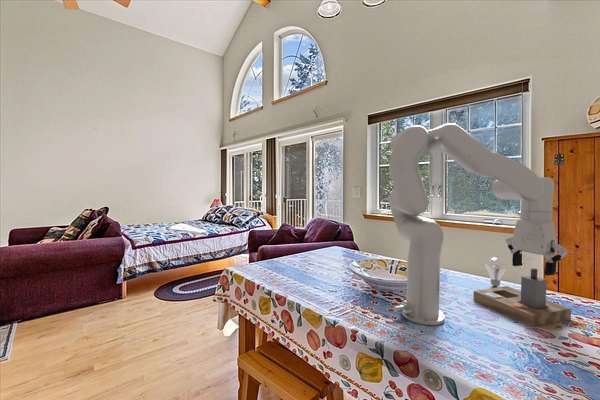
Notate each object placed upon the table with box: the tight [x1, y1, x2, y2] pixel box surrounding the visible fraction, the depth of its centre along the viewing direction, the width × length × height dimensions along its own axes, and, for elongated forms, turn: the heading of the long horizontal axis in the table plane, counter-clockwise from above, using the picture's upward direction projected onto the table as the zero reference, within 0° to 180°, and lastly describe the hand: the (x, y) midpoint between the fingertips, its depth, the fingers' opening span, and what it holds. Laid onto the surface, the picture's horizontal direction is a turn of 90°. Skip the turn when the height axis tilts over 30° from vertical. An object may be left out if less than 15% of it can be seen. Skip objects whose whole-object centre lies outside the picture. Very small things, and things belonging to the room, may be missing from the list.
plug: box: [520, 267, 548, 310], centre depth 89 cm, size 4×4×15 cm
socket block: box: [473, 285, 572, 328], centre depth 93 cm, size 16×20×4 cm
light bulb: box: [485, 257, 507, 288], centre depth 114 cm, size 7×7×12 cm
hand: (532, 270), depth 88 cm, fingers open, 9 cm apart
